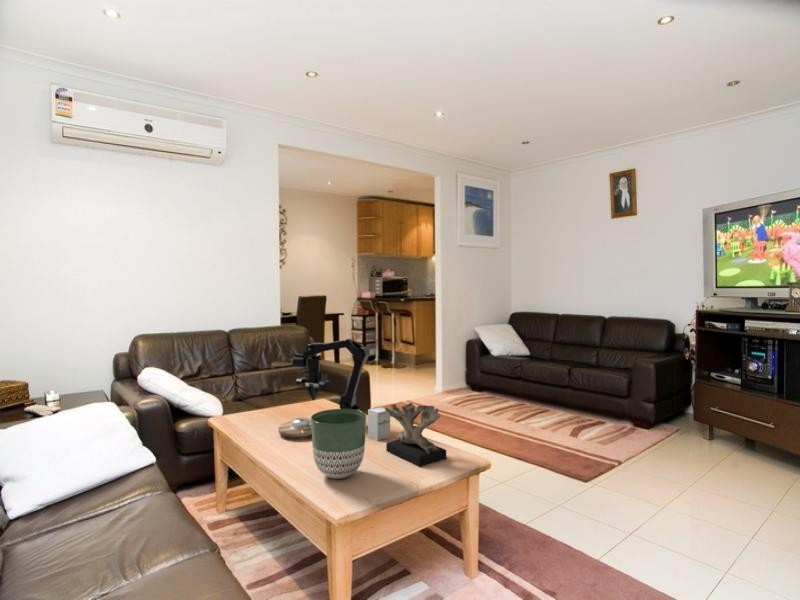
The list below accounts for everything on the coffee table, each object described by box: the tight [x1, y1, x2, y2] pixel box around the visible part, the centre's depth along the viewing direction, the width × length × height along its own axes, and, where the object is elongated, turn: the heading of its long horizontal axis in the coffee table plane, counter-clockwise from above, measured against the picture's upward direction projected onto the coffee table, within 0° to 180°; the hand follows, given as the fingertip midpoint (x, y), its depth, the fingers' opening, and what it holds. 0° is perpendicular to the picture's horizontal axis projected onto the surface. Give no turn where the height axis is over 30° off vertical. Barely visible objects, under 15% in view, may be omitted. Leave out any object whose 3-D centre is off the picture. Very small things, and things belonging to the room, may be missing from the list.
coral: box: [383, 402, 447, 468], centre depth 178 cm, size 25×20×22 cm
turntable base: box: [283, 436, 312, 440], centre depth 209 cm, size 16×16×1 cm
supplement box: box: [367, 406, 391, 442], centre depth 203 cm, size 7×7×13 cm
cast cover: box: [291, 417, 311, 429], centre depth 208 cm, size 8×8×3 cm
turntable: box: [278, 419, 312, 437], centre depth 209 cm, size 20×20×7 cm
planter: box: [310, 408, 367, 480], centre depth 161 cm, size 20×20×21 cm
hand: (313, 400), depth 223 cm, fingers closed
